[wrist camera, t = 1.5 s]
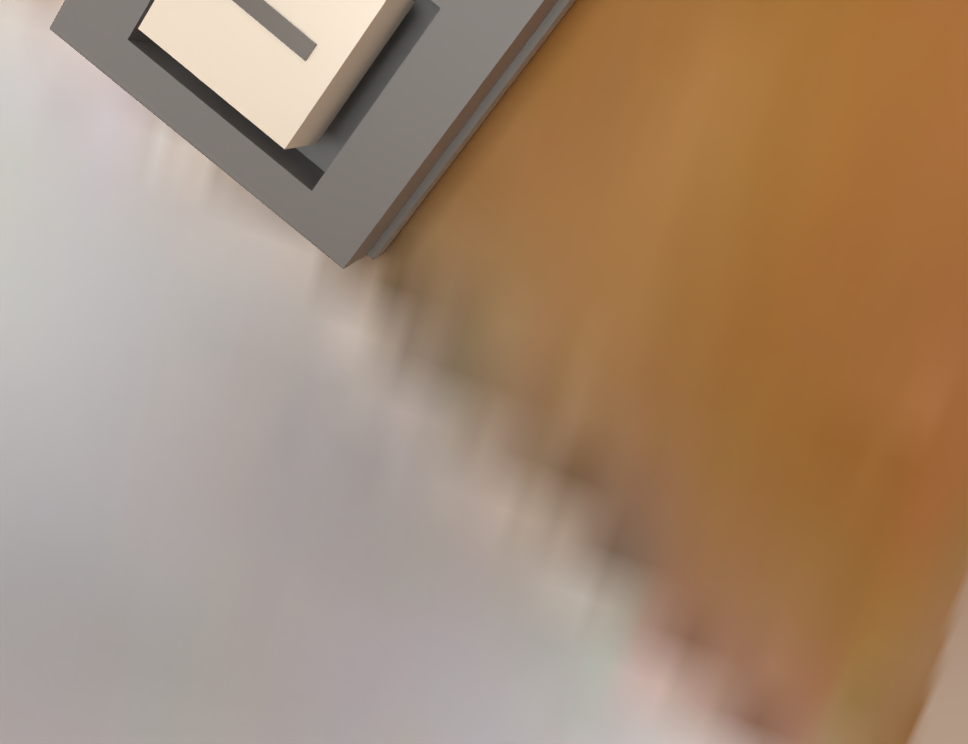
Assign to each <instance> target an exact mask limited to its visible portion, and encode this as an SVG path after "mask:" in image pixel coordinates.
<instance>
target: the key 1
mask: <svg viewBox="0 0 968 744" xmlns="http://www.w3.org/2000/svg"><path fill="white" fill-rule="evenodd" d="M414 3H415V1H414V0H155V1H154V2H153V4H152V6H151V7H150V9H149V11H148V13H147V14H146V16H145V18H144V19H143V21H142V23H141V24H140V26H139V28H138V29H139V30H140V31H142V32H143V33H144V34H145V35H146V36H148V37H149V38H150V39H151V40H152V41H154V42H155V43H156V44H157V45H159V46H160V47H161V48H162V49H163V50H165V51H166V52H167V53H168V54H169V55H171V56H172V57H173V58H174V59H176V60H177V61H178V62H179V63H180V64H182V65H183V66H184V67H185V68H186V69H188V70H189V71H190V72H191V73H193V74H194V75H195V76H196V77H197V78H199V79H200V80H201V81H202V82H203V83H205V84H206V85H207V86H208V87H210V88H211V89H212V90H213V91H214V92H216V93H217V94H218V95H219V96H220V97H222V98H223V99H224V100H225V101H227V102H228V103H229V104H230V105H231V106H233V107H234V108H235V109H236V110H237V111H239V112H240V113H241V114H242V115H244V116H245V117H246V118H247V119H248V120H250V121H251V122H252V123H253V124H254V125H256V126H257V127H258V128H259V129H261V130H262V131H263V132H264V133H265V134H267V135H268V136H269V137H270V138H271V139H273V140H274V141H275V142H276V143H278V144H279V145H280V146H281V147H282V148H284V149H290V148H296V147H302V146H308V145H314V144H317V143H318V141H319V140H320V138H321V137H322V135H323V134H324V133H325V131H326V130H327V128H328V127H329V125H330V124H331V123H332V121H333V120H334V118H335V117H336V115H337V114H338V112H339V111H340V110H341V108H342V107H343V105H344V104H345V102H346V101H347V99H348V98H349V97H350V95H351V94H352V92H353V91H354V89H355V88H356V87H357V85H358V84H359V82H360V81H361V79H362V78H363V76H364V75H365V74H366V72H367V71H368V69H369V68H370V66H371V65H372V64H373V62H374V61H375V59H376V58H377V56H378V55H379V53H380V52H381V51H382V49H383V48H384V46H385V45H386V43H387V42H388V40H389V39H390V38H391V36H392V35H393V33H394V32H395V30H396V29H397V28H398V26H399V25H400V23H401V22H402V20H403V19H404V17H405V16H406V15H407V13H408V12H409V10H410V9H411V7H412V6H413V4H414Z"/></svg>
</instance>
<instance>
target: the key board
mask: <svg viewBox="0 0 968 744" xmlns="http://www.w3.org/2000/svg"><path fill="white" fill-rule="evenodd" d="M154 1H155V0H65V1H64V3H63V5H62V7H61V9H60V10H59V12H58V14H57V16H56V18H55V19H54V21H53V23H52V25H51V27H50V30H52V31H53V32H54V33H55V34H57V35H58V36H59V37H60V38H62V39H63V40H64V41H65V42H66V43H68V44H69V45H70V46H71V47H73V48H74V49H75V50H76V51H77V52H79V53H80V54H81V55H82V56H84V57H85V58H86V59H87V60H88V61H90V62H91V63H92V64H93V65H95V66H96V67H97V68H98V69H99V70H101V71H102V72H103V73H104V74H106V75H107V76H108V77H109V78H110V79H112V80H113V81H114V82H115V83H117V84H118V85H119V86H120V87H121V88H123V89H124V90H125V91H126V92H128V93H129V94H130V95H131V96H132V97H134V98H135V99H136V100H137V101H139V102H140V103H141V104H142V105H143V106H145V107H146V108H147V109H148V110H150V111H151V112H152V113H153V114H154V115H156V116H157V117H158V118H159V119H161V120H162V121H163V122H164V123H166V124H167V125H168V126H169V127H170V128H172V129H173V130H174V131H175V132H177V133H178V134H179V135H180V136H181V137H183V138H184V139H185V140H186V141H188V142H189V143H190V144H191V145H192V146H194V147H195V148H196V149H197V150H199V151H200V152H201V153H202V154H203V155H205V156H206V157H207V158H208V159H210V160H211V161H212V162H213V163H214V164H216V165H217V166H218V167H219V168H221V169H222V170H223V171H224V172H225V173H227V174H228V175H229V176H230V177H232V178H233V179H234V180H235V181H236V182H238V183H239V184H240V185H241V186H243V187H244V188H245V189H246V190H247V191H249V192H250V193H251V194H252V195H254V196H255V197H256V198H257V199H259V200H260V201H261V202H262V203H263V204H265V205H266V206H267V207H268V208H270V209H271V210H272V211H273V212H274V213H276V214H277V215H278V216H279V217H281V218H282V219H283V220H284V221H285V222H287V223H288V224H289V225H290V226H292V227H293V228H294V229H295V230H296V231H298V232H299V233H300V234H301V235H303V236H304V237H305V238H306V239H307V240H309V241H310V242H311V243H312V244H314V245H315V246H316V247H317V248H318V249H320V250H321V251H322V252H323V253H325V254H326V255H327V256H328V257H329V258H331V259H332V260H333V261H334V262H336V263H337V264H338V265H339V266H340V267H342V268H343V269H344V268H345V267H347V266H349V265H350V264H352V263H354V262H355V261H357V260H359V259H360V258H362V257H364V256H365V255H368V256H369V257H370V258H371V259H373V260H374V259H375V258H377V257H378V256H380V255H381V254H383V253H384V252H385V250H386V249H387V248H388V246H389V245H390V244H391V242H392V241H393V240H394V238H395V237H396V236H397V235H398V233H399V232H400V231H401V229H402V228H403V227H404V225H405V224H406V223H407V221H408V220H409V219H410V217H411V216H412V215H413V214H414V212H415V211H416V210H417V208H418V207H419V206H420V204H421V203H422V202H423V200H424V199H425V198H426V196H427V195H428V194H429V193H430V191H431V190H432V189H433V187H434V186H435V185H436V183H437V182H438V181H439V179H440V178H441V177H442V175H443V174H444V173H445V171H446V170H447V169H448V168H449V166H450V165H451V164H452V162H453V161H454V160H455V158H456V157H457V156H458V154H459V153H460V152H461V150H462V149H463V148H464V147H465V145H466V144H467V143H468V141H469V140H470V139H471V137H472V136H473V135H474V133H475V132H476V131H477V129H478V128H479V127H480V125H481V124H482V123H483V122H484V120H485V119H486V118H487V116H488V115H489V114H490V112H491V111H492V110H493V108H494V107H495V106H496V104H497V103H498V102H499V101H500V99H501V98H502V97H503V95H504V94H505V93H506V91H507V90H508V89H509V87H510V86H511V85H512V83H513V82H514V81H515V80H516V78H517V77H518V76H519V74H520V73H521V72H522V70H523V69H524V68H525V66H526V65H527V64H528V62H529V61H530V60H531V58H532V57H533V56H534V55H535V53H536V52H537V51H538V49H539V48H540V47H541V45H542V44H543V43H544V41H545V40H546V39H547V37H548V36H549V35H550V34H551V32H552V31H553V30H554V28H555V27H556V26H557V24H558V23H559V22H560V20H561V19H562V18H563V16H564V15H565V14H566V12H567V11H568V10H569V9H570V7H571V6H572V5H573V3H574V2H575V1H576V0H414V1H415V3H414V4H413V6H412V7H411V9H410V10H409V12H408V13H407V15H406V16H405V17H404V19H403V20H402V22H401V23H400V25H399V26H398V28H397V29H396V30H395V32H394V33H393V35H392V36H391V38H390V39H389V40H388V42H387V43H386V45H385V46H384V48H383V49H382V51H381V52H380V53H379V55H378V56H377V58H376V59H375V61H374V62H373V64H372V65H371V66H370V68H369V69H368V71H367V72H366V74H365V75H364V76H363V78H362V79H361V81H360V82H359V84H358V85H357V87H356V88H355V89H354V91H353V92H352V94H351V95H350V97H349V98H348V99H347V101H346V102H345V104H344V105H343V107H342V108H341V110H340V111H339V112H338V114H337V115H336V117H335V118H334V120H333V121H332V123H331V124H330V125H329V127H328V128H327V130H326V131H325V133H324V134H323V135H322V137H321V138H320V140H319V141H318V143H317V144H314V145H308V146H302V147H296V148H290V149H284V148H282V147H281V146H280V145H279V144H278V143H276V142H275V141H274V140H273V139H271V138H270V137H269V136H268V135H267V134H265V133H264V132H263V131H262V130H261V129H259V128H258V127H257V126H256V125H254V124H253V123H252V122H251V121H250V120H248V119H247V118H246V117H245V116H244V115H242V114H241V113H240V112H239V111H237V110H236V109H235V108H234V107H233V106H231V105H230V104H229V103H228V102H227V101H225V100H224V99H223V98H222V97H220V96H219V95H218V94H217V93H216V92H214V91H213V90H212V89H211V88H210V87H208V86H207V85H206V84H205V83H203V82H202V81H201V80H200V79H199V78H197V77H196V76H195V75H194V74H193V73H191V72H190V71H189V70H188V69H186V68H185V67H184V66H183V65H182V64H180V63H179V62H178V61H177V60H176V59H174V58H173V57H172V56H171V55H169V54H168V53H167V52H166V51H165V50H163V49H162V48H161V47H160V46H159V45H157V44H156V43H155V42H154V41H152V40H151V39H150V38H149V37H148V36H146V35H145V34H144V33H143V32H142V31H140V30H139V29H138V28H139V26H140V24H141V23H142V21H143V19H144V18H145V16H146V14H147V13H148V11H149V9H150V7H151V6H152V4H153V2H154Z"/></svg>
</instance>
